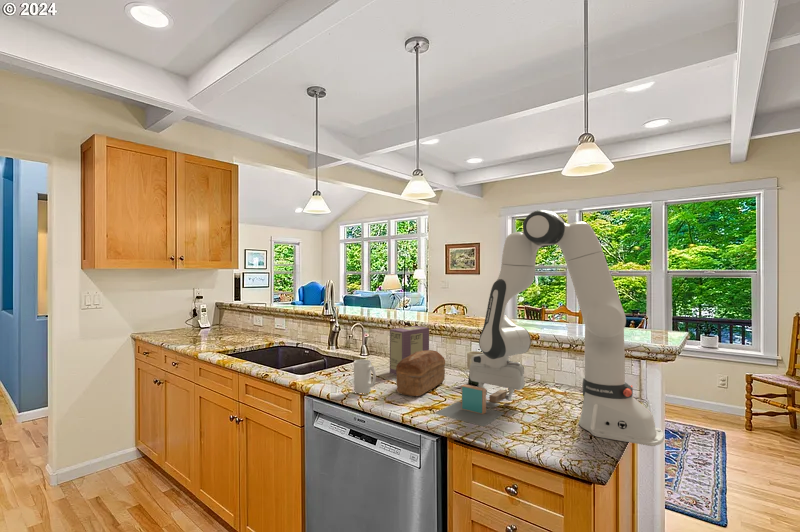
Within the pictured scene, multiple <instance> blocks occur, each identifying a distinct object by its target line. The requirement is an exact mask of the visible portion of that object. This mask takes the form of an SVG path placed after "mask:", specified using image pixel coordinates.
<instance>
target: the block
mask: <svg viewBox="0 0 800 532" xmlns="http://www.w3.org/2000/svg"><path fill="white" fill-rule="evenodd" d="M486 390H487V388H485V387H484V388H481V387H479V386H475V385H470V384H462V385H461V402H462V409H463V410H467V411H471V412H475V413H479V414H485V413H486V408H487V407H486V401H487V395H486Z"/></svg>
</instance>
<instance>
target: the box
mask: <svg viewBox="0 0 800 532" xmlns="http://www.w3.org/2000/svg"><path fill="white" fill-rule="evenodd" d="M424 350H430V328H429V327H425V326H418V325H412V326H411V325H410V326H405V327H398V328H397V327H396V328H391V329H389V374H393V375H395V376H396V375H397V374H396V366H397V364H398V363H399V362H400V361H401V360H402V359H404V358H406V357H408V356H410V355H411V354H413V353H415V352H418V351H424Z"/></svg>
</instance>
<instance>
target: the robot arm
mask: <svg viewBox="0 0 800 532" xmlns="http://www.w3.org/2000/svg"><path fill="white" fill-rule="evenodd" d="M554 245H556V246H558V247H559V249H560V250H561V253H562V254H563V257H564V260H565V264H566V267H567V269H568V274H569V275H570V279H571V282H572V285H573V288H574V292H575V295H576V299H577V303H578V306H579V309H580V313H581V316H582V319H583V322H584V377H583V378H582V397H583V401H582V408H581V414H580V417H579V420H578V426H579V427H581V428H582V429H584V430H586V431H588V432H589V433H590V434H591V435H592V436H594V437H597V438H602V439H608V440H615V441H619V442H620V441H621V442H625V443H631V444H637V445H643V446H649V447H656V446H659V445H661V444H662V443H663V442H664V440H665V432H664V431H663V430H662V429H661V428H660V427H656V422H655V418H654V416H653V413H652V412H651V411H650V410H649V409H648V408H647V407H646V406H644V405H643V404H642V403H641V402H640V401H639V400H637V399H636V398H634V397H633V394H634V393H633V390H634V389H633V387H634V386H633V384H631V385H629V384H628V383H627V382H626V376H625V375H626V367H625V365H626V354H625V353H626V352H625V350H626V349H625V327H626V325H627V317H626V314H625V311H624V308H623V305H622V303H621V299H620V296H619V294H618V291H617V288H616V286H615V282H614V280H613V277H612V274H611V272H610V268H609V265H608V262H607V259H606V256H605V254H604V251H603V248H602V245H601V243H600V241H599V239H598V236H597V235H596V233H595V231H594V229H593V227H592V226H591V225H590V224H589V223H588V222H585V221H574V222H571V223H567V222H566V221H565V219H564V218H563V216H562V215H561V216H560V215H559V214H557V213H556V212H553V211H551V210H546V209H539V210H538V209H537V210H534V211H532V212H531V213H529V214H528V215H527V216H526V218H525V219H524V220H523V224H522V231H515V232H511V233H509V234H508V235H507V236H506V238H505V241H504V245H503V250H502V255H501V266H500V271H499V274H498V277H497V279H496V280H495V282H494V283H493V284H492V286H491V289H490V294H489V297H488V303H487V308H486V312H485V313H486V314H485V318H484V323H483V327H482V330H481V333H480V335H479V340H478V346H479V348H480V350H481V351H480V352H483V353H481V354H477V355H474V356H472V357H471V361H472V362H473V363H471V365H470V368H469V373H468V379H469V378H470V379H471V381H475V382H478V385H477V386H478V387H481V388H485V386H484V385H485V384H486V385H491V386H495V387H502V388H506V389H507V390H508V392H509V393H507V395H505V397H506V398H504V400H505V401H511V400H512V395H513V393H514V392H515V390H516V391H521V390H522V389H523V388H525V384H526V383H525V375H524V374H525V367H524V365H523V364H521V363H520V362H518V361H517V362H516V361H511V360H510V357H511V356H515V355H516V356H517V355H522V354H525V353H527V352H528V351H529V349H530V348H531V345H532V339H531V336H530V333H529V331H528V330H527V329H526V328H525V327H523V326H519V325H518V324H516V323H514V322H513V321H512V320H511V319H509V317H508V315H506V313H505V312H506V307H507V305H508V303H509V301H510V300H511V299H512V298H513V297H515V296H516V295H518V294H520V293H523V292H524V291H526V290H527V289H529V287H531V285H532V284H533V282H534V279H535V274H536V263H537V262H536V259H537V252H538V250H539V249H542V248H546V247H550V246H554ZM487 395H488V389H486V396H487Z"/></svg>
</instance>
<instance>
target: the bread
mask: <svg viewBox="0 0 800 532" xmlns="http://www.w3.org/2000/svg"><path fill="white" fill-rule="evenodd" d="M445 365H446V360H445V357H444V356H443V355H442V354H441V353H440V352H439V351H436V350H433V349H432V350H431V349H429V350H424V351H418V352H415V353H413V354H411V355H410V356H408V357H406V358H404V359H402V360H401V361H400V362H399V363H398V364H397V366H396V374H397V375H396V374H395V377H396V380H395V382H396V392H397V393H398V394H401V395H404V396H409V397H420V396H423V395H424V394H425V393H427V392H428V391H430V390H433V389H435V388H436V387H437V386H438V385H441V384H442V383H443V382H444V381H445V379H446V378H445V377H446V369H445V368H446V366H445Z"/></svg>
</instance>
